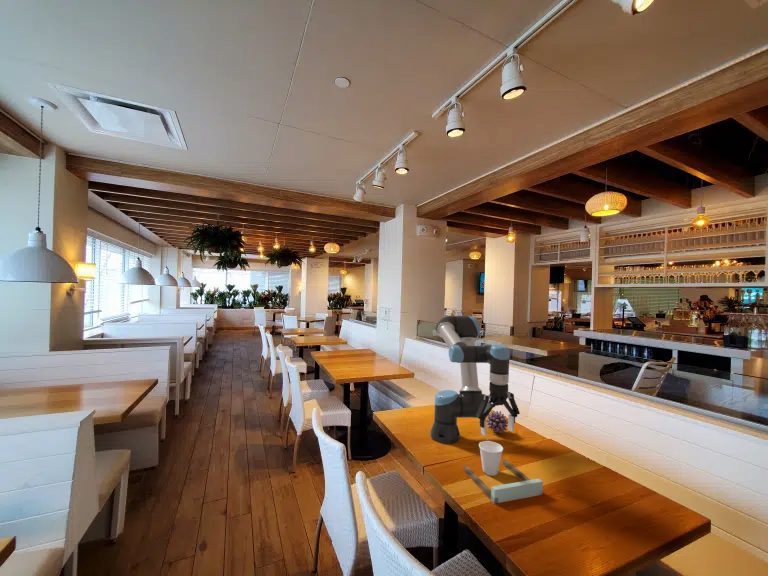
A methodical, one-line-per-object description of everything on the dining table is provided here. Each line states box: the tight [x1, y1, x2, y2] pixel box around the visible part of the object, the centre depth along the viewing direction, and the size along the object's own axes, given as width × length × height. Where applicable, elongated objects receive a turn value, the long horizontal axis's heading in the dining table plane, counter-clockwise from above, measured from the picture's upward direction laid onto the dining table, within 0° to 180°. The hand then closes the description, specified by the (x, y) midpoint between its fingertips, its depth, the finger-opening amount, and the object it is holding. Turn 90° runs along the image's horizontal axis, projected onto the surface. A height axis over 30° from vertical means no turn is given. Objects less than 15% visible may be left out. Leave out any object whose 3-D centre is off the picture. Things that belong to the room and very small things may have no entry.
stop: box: [490, 478, 544, 504], centre depth 122 cm, size 2×21×5 cm, turn 106°
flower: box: [486, 409, 508, 434], centre depth 176 cm, size 12×12×12 cm
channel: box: [462, 459, 543, 504], centre depth 131 cm, size 22×21×2 cm
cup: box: [478, 440, 504, 477], centre depth 138 cm, size 10×10×11 cm
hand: (497, 432), depth 137 cm, fingers open, 13 cm apart
